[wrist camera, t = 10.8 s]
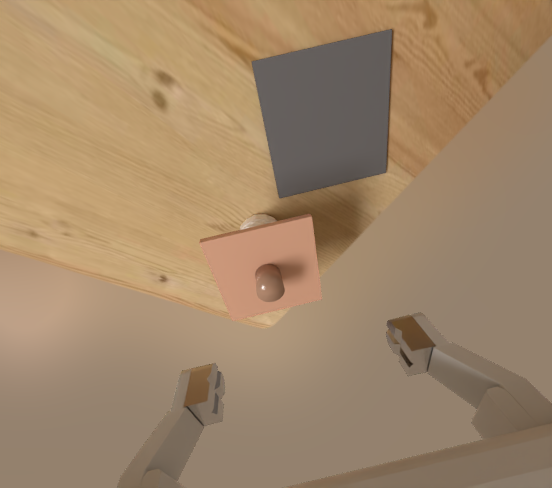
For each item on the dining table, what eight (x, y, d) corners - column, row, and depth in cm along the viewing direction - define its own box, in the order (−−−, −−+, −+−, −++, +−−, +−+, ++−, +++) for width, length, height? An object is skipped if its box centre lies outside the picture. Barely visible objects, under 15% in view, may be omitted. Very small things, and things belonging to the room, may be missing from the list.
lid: (309, 213, 25) (320, 228, 21) (320, 295, 31) (329, 316, 28) (200, 239, 25) (194, 258, 21) (232, 316, 31) (231, 340, 27)
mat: (390, 30, 26) (392, 29, 26) (384, 172, 34) (385, 172, 34) (251, 62, 26) (251, 61, 25) (279, 197, 34) (279, 198, 33)
